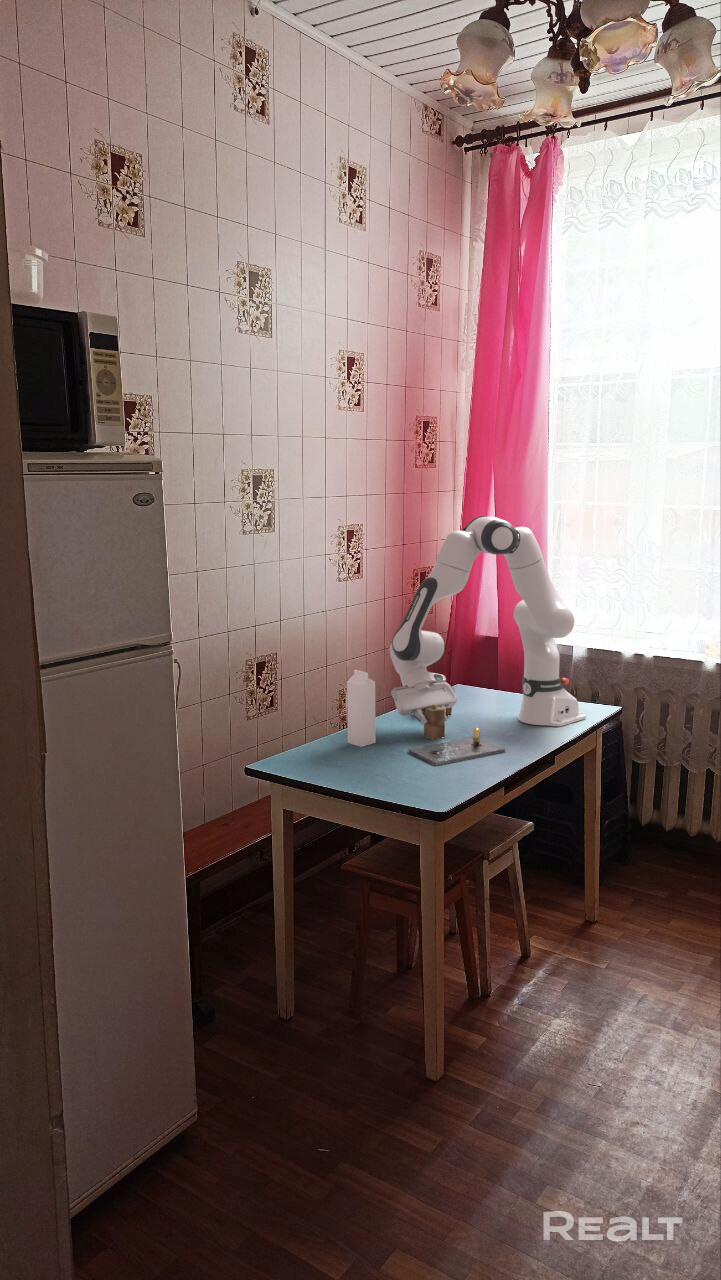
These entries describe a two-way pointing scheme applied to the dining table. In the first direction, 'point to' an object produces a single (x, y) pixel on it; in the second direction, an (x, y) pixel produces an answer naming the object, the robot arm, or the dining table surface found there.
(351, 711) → the milk
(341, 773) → the dining table surface
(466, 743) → the bolt plate
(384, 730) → the dining table surface
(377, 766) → the dining table surface
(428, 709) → the walnut peg
